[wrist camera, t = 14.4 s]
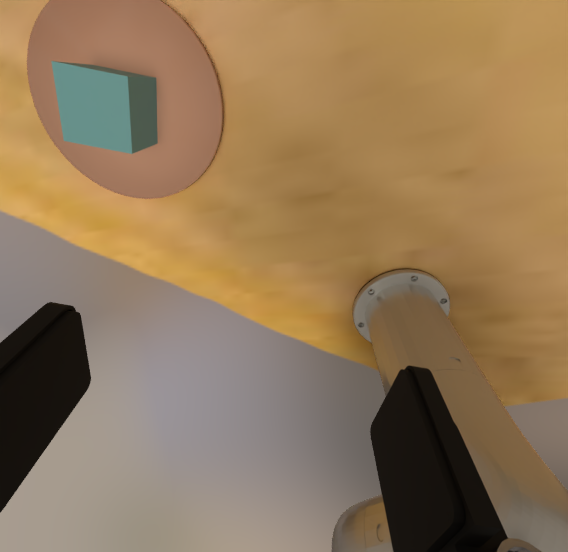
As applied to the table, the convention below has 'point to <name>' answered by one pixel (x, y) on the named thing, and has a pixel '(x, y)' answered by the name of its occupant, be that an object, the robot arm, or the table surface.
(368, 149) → the table surface
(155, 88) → the teal block
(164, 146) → the terracotta disc
